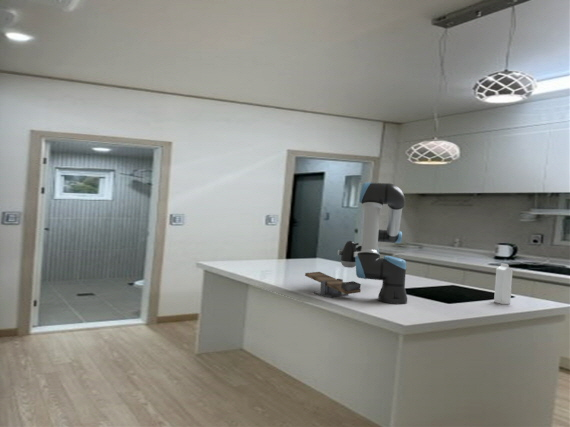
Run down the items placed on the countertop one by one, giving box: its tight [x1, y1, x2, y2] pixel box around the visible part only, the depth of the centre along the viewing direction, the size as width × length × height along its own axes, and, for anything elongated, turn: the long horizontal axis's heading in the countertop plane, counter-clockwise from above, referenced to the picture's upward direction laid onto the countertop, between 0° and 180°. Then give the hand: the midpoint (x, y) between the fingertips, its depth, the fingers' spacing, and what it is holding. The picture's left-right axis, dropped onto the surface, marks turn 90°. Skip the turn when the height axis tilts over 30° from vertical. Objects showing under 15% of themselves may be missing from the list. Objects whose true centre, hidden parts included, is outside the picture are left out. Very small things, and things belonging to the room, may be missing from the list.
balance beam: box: [304, 271, 362, 295], centre depth 259 cm, size 30×12×4 cm, turn 45°
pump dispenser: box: [340, 240, 360, 269], centre depth 273 cm, size 10×10×15 cm
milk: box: [493, 262, 514, 305], centre depth 265 cm, size 6×6×22 cm
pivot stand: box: [313, 278, 349, 299], centre depth 260 cm, size 12×15×8 cm
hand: (346, 253), depth 269 cm, fingers closed on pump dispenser, 10 cm apart
